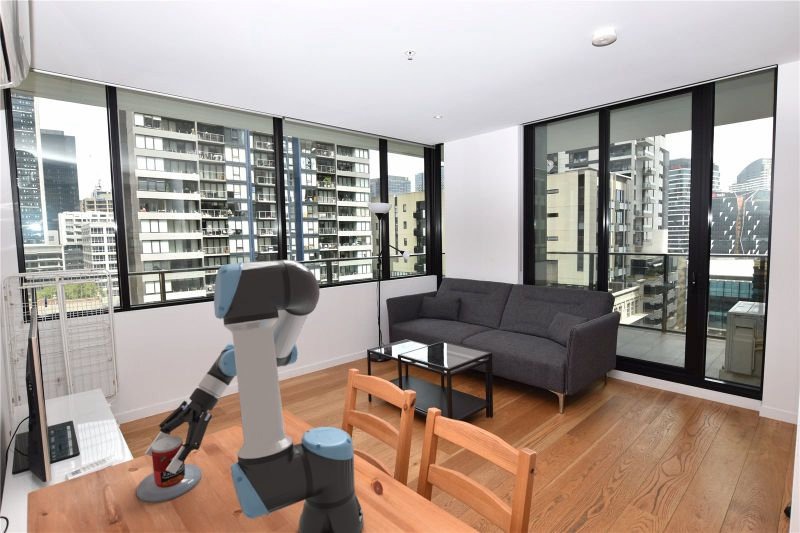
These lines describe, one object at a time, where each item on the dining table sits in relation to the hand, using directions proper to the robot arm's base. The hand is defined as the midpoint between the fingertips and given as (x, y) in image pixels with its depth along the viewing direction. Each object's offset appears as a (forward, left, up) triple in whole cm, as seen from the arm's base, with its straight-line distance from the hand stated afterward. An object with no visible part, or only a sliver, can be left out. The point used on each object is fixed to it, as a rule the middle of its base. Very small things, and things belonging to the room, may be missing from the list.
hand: (159, 463), depth 115 cm
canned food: (0, -2, -6) cm, 7 cm away
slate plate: (0, -2, -7) cm, 8 cm away
